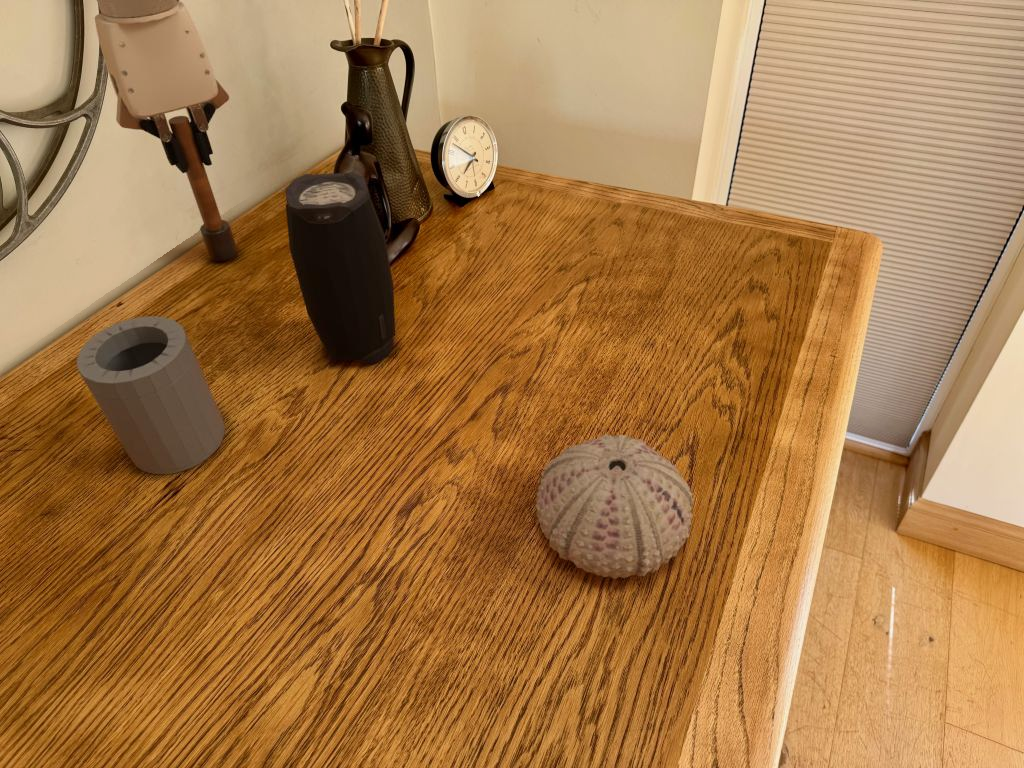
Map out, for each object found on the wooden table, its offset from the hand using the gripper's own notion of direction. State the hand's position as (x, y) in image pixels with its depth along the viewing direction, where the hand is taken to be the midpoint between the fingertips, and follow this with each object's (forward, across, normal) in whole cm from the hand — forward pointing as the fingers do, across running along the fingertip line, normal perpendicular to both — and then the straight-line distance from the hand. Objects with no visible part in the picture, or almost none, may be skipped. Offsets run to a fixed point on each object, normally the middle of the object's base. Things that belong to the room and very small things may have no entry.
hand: (193, 163), depth 87 cm
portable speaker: (+13, -5, +28) cm, 31 cm away
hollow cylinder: (+13, +16, +29) cm, 36 cm away
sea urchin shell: (+13, -11, +63) cm, 65 cm away
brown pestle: (+13, 0, 0) cm, 13 cm away
